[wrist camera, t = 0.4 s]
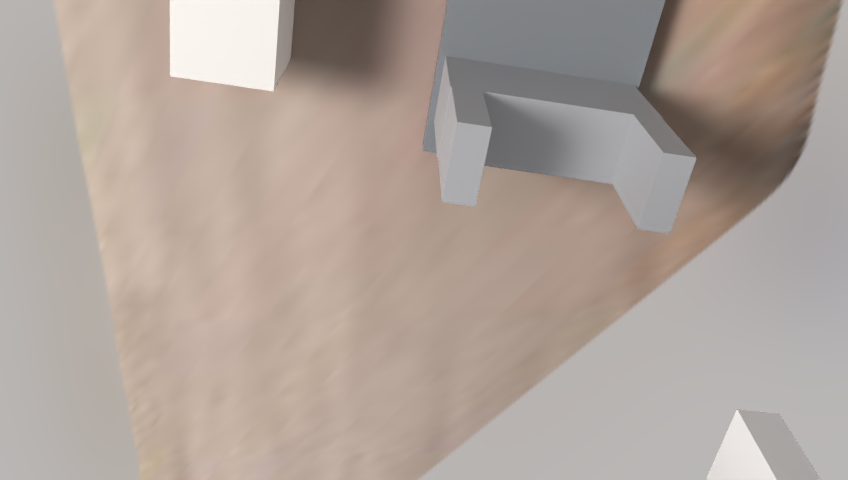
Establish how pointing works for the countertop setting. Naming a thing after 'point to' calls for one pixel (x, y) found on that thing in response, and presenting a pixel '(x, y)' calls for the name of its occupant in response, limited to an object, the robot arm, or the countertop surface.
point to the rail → (231, 41)
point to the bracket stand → (555, 101)
